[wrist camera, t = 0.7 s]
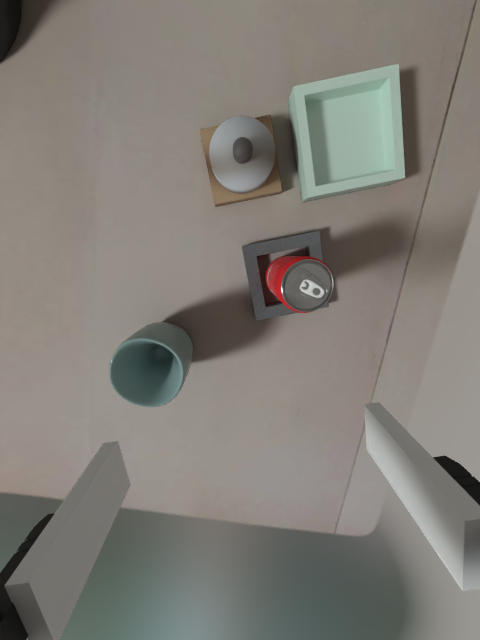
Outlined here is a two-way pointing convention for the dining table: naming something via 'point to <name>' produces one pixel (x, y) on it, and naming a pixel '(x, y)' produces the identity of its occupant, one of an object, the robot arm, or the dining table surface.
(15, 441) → the dining table surface
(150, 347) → the cup
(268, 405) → the dining table surface
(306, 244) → the frame
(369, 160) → the tray
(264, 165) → the service bell
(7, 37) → the robot arm
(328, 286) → the beverage can
